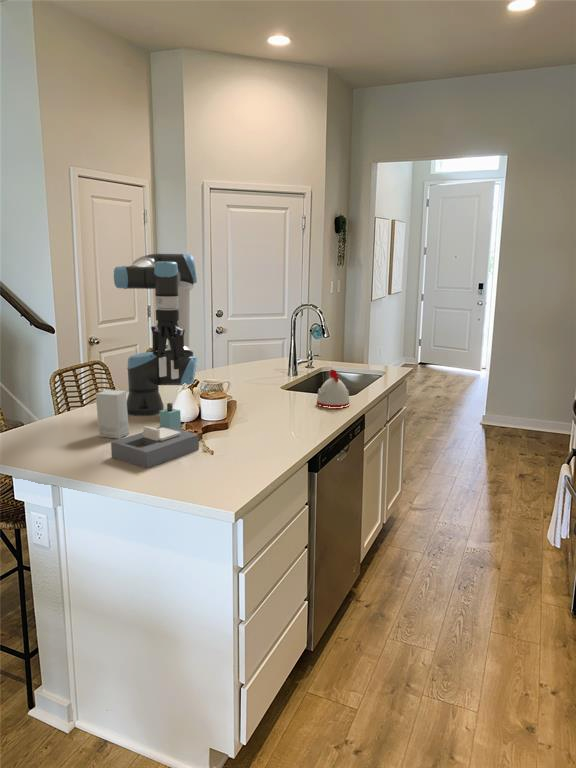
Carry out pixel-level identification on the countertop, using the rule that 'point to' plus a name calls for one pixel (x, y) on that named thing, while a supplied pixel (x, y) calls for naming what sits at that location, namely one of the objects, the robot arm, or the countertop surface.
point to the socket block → (153, 448)
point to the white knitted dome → (333, 392)
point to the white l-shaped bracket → (159, 433)
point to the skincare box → (112, 414)
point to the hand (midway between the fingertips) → (168, 377)
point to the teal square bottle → (170, 417)
